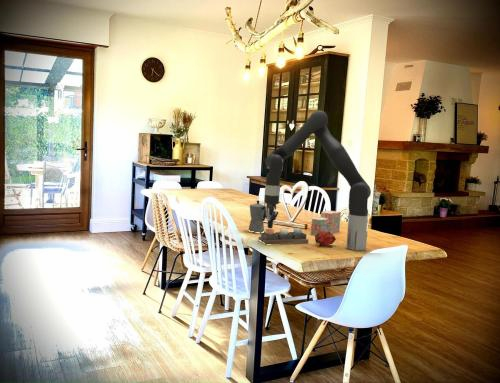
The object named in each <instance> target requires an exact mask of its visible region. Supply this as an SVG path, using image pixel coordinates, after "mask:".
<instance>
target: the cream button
mask: <svg viewBox="0 0 500 383" xmlns="http://www.w3.org/2000/svg"><path fill="white" fill-rule="evenodd" d="M279 232H280V234H281V235H287V234H288V233H289V229H288V228H280V229H279Z"/></svg>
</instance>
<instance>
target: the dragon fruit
mask: <svg viewBox="0 0 500 383" xmlns="http://www.w3.org/2000/svg"><path fill="white" fill-rule="evenodd" d="M314 240H315V243H316V244H318V245H319V246H320V247H322V246H324V247H327V246H328V247H332V246H333V245H332V244H334V243H335V242H336V240H337V238H336V237H335V235H334V233H332V234H330V232H329V231H328V232H325V231H323V232H321V231H319V232H318V233H317V234H316V235H314Z"/></svg>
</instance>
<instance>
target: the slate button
mask: <svg viewBox="0 0 500 383" xmlns="http://www.w3.org/2000/svg"><path fill="white" fill-rule="evenodd" d="M292 232H293V233H294V234H302V233H303V229H302V228H297V227H296V228H293V231H292Z"/></svg>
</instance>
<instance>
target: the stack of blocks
mask: <svg viewBox="0 0 500 383" xmlns="http://www.w3.org/2000/svg"><path fill="white" fill-rule="evenodd" d="M340 224H341V211H336V210H326V211H321V213H320V216H319V217H313V218H311V227H310V235H313V236H315V235H316V234H317V233H318V232H319V231H321V232H323V231H325V232H328V231H329V232H330V234H336V233H339V232H340V227H341V226H340Z"/></svg>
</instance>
